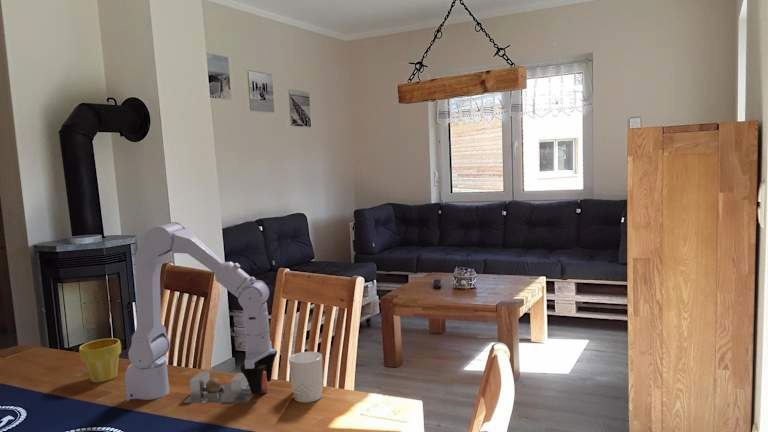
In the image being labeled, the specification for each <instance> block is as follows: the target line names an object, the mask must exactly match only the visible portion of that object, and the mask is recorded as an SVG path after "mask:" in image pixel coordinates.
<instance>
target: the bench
mask: <svg viewBox="0 0 768 432" xmlns="http://www.w3.org/2000/svg"><path fill="white" fill-rule="evenodd" d="M210 376H211V374H210V370H209V371H207V370H204V371H201V370H200V371H199V372H197V374H195V375H194V376H193V377H191V378H190V380H189V389H190V395H189V396H188V397H186V399H185V400H184V401H182V403H183V404H184V403H185V404H187V403H188V404H189V403H192V404H193V403H196V404H198V403H199V404H200V403H206V404H207V403H249V402H250V401H251V400H252V398H253V397H254V396H255V394H252V393H251V392H244V390H243V391H242V392H232V389H231V383H230V384H229V383H228V384H225V383H223V384H222V383H221V388H220V390H219V391H218V392H215V393H209V392H208V391H207V390H206V383H207V382H208V381H209V380H210V379H211V377H210ZM247 387H249V384H248V385H247Z"/></svg>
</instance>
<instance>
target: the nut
mask: <svg viewBox="0 0 768 432" xmlns="http://www.w3.org/2000/svg"><path fill="white" fill-rule="evenodd" d="M221 384H222V382H221V381H220V380H219V379H218V378H215V377H213V378H210V380H209V381H208V382H207V383H206V390H207V391H208V392H209V393H215V392H218V391H219V390H220V388H221Z"/></svg>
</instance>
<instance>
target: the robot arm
mask: <svg viewBox="0 0 768 432" xmlns="http://www.w3.org/2000/svg"><path fill="white" fill-rule="evenodd" d="M169 253H171V254H186V255H189V256H190V257H192V258H193V259H195V261H197V262H199V263H200V264H202V266H204V267H206V268H207V269H208V270H210V271H211V272H213V274H214V278H215V281H216V282H217V283H218V284H220V285H221V286H222V287H223V288H225V289H226V290H227V291H228V292H230V293H231V294H232V295H233V296H235V297H236V298H237V301H238V303H239V305H240V306H241V308H242V309H243V326H244V337H245V338H244V339H245V348H246V350H245V359H244V363H243V364H242V365H241V366H240V371H241V372H240V373H243V374H244V376H245V377H246V379H247V381H248V384H249V387H250V390H251V393H252V394H254V395H260V393H261V390H262V377H263V372H264V370H266V375H267V383H268V382H271V380H272V375H273V368H274V364H275V363H274V362H275V359H276V357H277V355H278V351H277V350H276V348H273V346H272V345H273V344H272V340H271V339H270V338H271V337H270V335H271V334H270V323H269V312H268V303H267V300H268V299H269V297H270V288H269V286H268V285H267V284H266V283H265V281H263V280H259V279H256V277H254V276H250V275H249V274H248V273H247V272H246V271H244V270H243V269H241V265H240V264H239V263H238V262H235V263H234V262H233V261H224V260H222V259H221V257H219V256H218V255H217V254H216V253H215V252H213V251H212V250H211V249H210V248H209V247H208V246H207V245H206V244H204V243H203V242H202V241H201V240H200V239H199V238H198V237H197V236H196V235H195V234H194V233H193V231H192V230H190V229H189V228H186V227H185V225H183V224H182V223H180V222H178V221H172V222H169V223H167V224H163V225H157V226H153V227H152V228H150V229H149V230H148V231H146V232H145V233H143V235H142V241H141V242H140V245H139V246H138V248H137V250H136V252H135V255H134V258H135V260H134V261H135V262H134V263H135V282H136V283H135V288H136V290H135V293H136V315H137V317H136V318H137V319H136V320H137V326H136V329H135V330H134V333H133V334H132V336H131V344H130V348H129V350H128V353H127V354H128V359H129V361H130V364H129V365H128V366H127V368H126V370H125V373H124V383H125V395H126V402H129V401H131V400H143V401H144V400H148V401H149V400H156V399H160V398H163V397H165V396H167V395H168V394H169V393H170V384H169V383H170V382H169V374H168V373H169V371H168V363H167V353H168V352H169V350H170V348H171V342H170V338H169V337H168V335H167V328H166V326H164V324H163V323H162V309H161V304H162V301H161V272H160V266H161V265H160V262H161V260H162V259H164V257H166V256H167V255H168V254H169Z"/></svg>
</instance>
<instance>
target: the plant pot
mask: <svg viewBox="0 0 768 432" xmlns="http://www.w3.org/2000/svg"><path fill="white" fill-rule="evenodd" d="M78 350H79V351H78V352H79V358H80V361H81V362H83V364H84V366H85V369H86V371H87V374H88V377H89V381H91V382H92V383H103V382H104V383H105V382H108V381H112V380H113V379H115V378H116V377H117V376H118V371H119V370H118V369H119V358H120V354H121V353H122V344H121V341H120V339H118V338H113V337H111V338H110V337H109V338H101V339H96V340H92V341H91V340H90V341H89V342H85V343H83V344H82V345H80V346H79V348H78Z"/></svg>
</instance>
